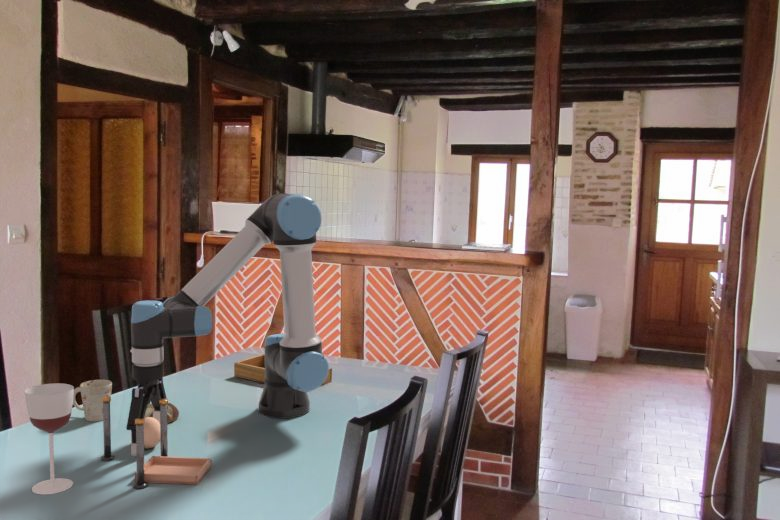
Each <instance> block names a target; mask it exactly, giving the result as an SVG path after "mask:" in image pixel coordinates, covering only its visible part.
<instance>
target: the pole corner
mask: <svg viewBox="0 0 780 520" xmlns="http://www.w3.org/2000/svg"><path fill="white" fill-rule="evenodd" d="M167 403H169V399H168V398H167V399H160V400H159V404H160V439H161V440H160V456H166V457H169V456H168V455H169V454H168V453H169V452H168V451H169V450H168V447H169V445H168V442H169V441H168V424H167Z"/></svg>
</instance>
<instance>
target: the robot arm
mask: <svg viewBox="0 0 780 520" xmlns="http://www.w3.org/2000/svg"><path fill="white" fill-rule="evenodd" d="M244 224H245V225H244V226H243V228H241V229H240V231H239V232H237V234H236V235H235V236H234V237H233V238H232V239H231V240H229V242H228V243H226V245H224V247H223V248H222V249H220V251H219V252H218V253H217V254H216V255H214V256H213V258H212V259H210V260H209V261H208V263H207V264H205V265H204V266H203V268H201V270H199V272H198V273H196V274H195V276H194V277H192V278H191V279H190V280H189V281H188V282H187V283H186V284H185V285H184V287H182V288H181V289H180V290H179V291H178V292H177V293H176V294H175V295H174V296H170V297H169V298H166V299H165V300H164V301H163V302H162V301H160V300H150V299H149V300H146V299H145V300H140V301H139V300H138V301H136V302H134V303H133V304H132V306H131V318H130V325H131V326H130V327H131V328H130V331H131V332H130V334H131V349H130V351H129V352H130V353H131V363H132V365H131V378H132V380H134V381H136V382H137V383H138V384H137V387H136V388H135V387H134V388H132V389H131V401H130V404H129V405H130V406H129V410H128V411H129V412H128V418H127V424H126V430H127V431H130V446H131V447H130V448H131V450H130V451H131V456H136V424H135V419H137V418H144V416H145V413H146V409H147V405H148V404H152V405H153V407H154V409H155V410H156V411H155V410H154V411H153V418H155V419H156V420H157V421H158V422H159V423H160V404H159V400H160V399H168V398H167V394H166V389H165V387H164V378H163V377H164V363H163V362H164V360H165V359H164V340H165V339H171V338H172V339H173V338H175V339H176V338H187V337H188V338H189V337H200V336H208V335H209V334H210V333H211V332H212V329H213V315H212V314H213V313H212V311H211V309H210V307H208V306H206V304H207V303H208V302H209V301H211V299H212V298H214V297H215V295H217V294H218V293H219V292H220V290H221V289H222V288H224V286H226V284H227V283H228V282H229V281H230V280H231V279H232V278H233V277H235V275H236V274H237V273H238V272H239V271H240V270H242V268H243V267H244V266H245V265H246V264H247V263H248V262H249V261H251V259H253V257H254V256H255V255H256V254H257V253H258V252H259V251H261V249H262V248H263V247H264V246H266V245H271V244H272V243H273V246H274V247H275V248H276V249H277V250H278V251H279V260H280V277H281V279H280V280H281V293H282V295H281V296H282V310H283V314H282V315H283V328H284V333H277V334H276V333H275V334H270V335H268V336H266V337H265V340H264V346H263V348H264V354H265V383H264V386H263V389H262V391H261V395H260V398H259V401H258V413H259V414H260V415H262V416H265V417H269V418H277V419H280V418H281V419H285V418H286V419H288V418H296V417H301V416H303V415H305V414H308V412H309V411H310V410H311V404H310V403H311V401H310V399H309V395H308V393H307V392H312V391H315V390H317V389H318V388H320V387H322V386H321V384H322V383H323V382H324V381H325V380H326V378H327V376H328V372H329V368H330V366H329V362H328V360H327V358H326V356H325V355H323V345H322V338H321V337H320V336H318V334H317V332H316V317H315V316H316V314H315V296H314V295H315V294H314V278H313V276H314V275H313V259H312V250H313V247H315V245H317V233H318V231H319V229H320V227H321V225H322V214H321V209H320V208H319V206H318V204H317V203H316V202H315V201H314V200H313V199H312V198H310V197H308V196H306V195H303V194H300V193H284V192H283V193H282V192H280V193H276V194H274V195H271V196H270V197H268V198H267V199H266V200H264V201H263V202H262V204H260V205H259V206H258V207H257V208H256V209H255V210H254V211H253V213H251V214H250V215H249V216H248V218H246V220H245V221H244ZM167 409H168V406H167Z"/></svg>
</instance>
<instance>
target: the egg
mask: <svg viewBox="0 0 780 520" xmlns="http://www.w3.org/2000/svg"><path fill="white" fill-rule="evenodd" d="M144 419H145V423H144V449H152V448H154V447H156V446H157V445H159V443H161V439H160V423H159V422H158V421H157V420H156V419H155V418H152V417H146V418H144Z"/></svg>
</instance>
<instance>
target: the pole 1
mask: <svg viewBox="0 0 780 520" xmlns="http://www.w3.org/2000/svg"><path fill="white" fill-rule="evenodd" d="M111 398H112V397H110V396H105V397H102V402H103V420H102V421H103V422H102V423H103V430H102V431H103V455H102V456H101V457H100V460H101V462H110V461H114V459H115V455H114V454H112V438H111V437H112V436H111V435H112V433H111V431H112V430H111V401H112V399H111Z"/></svg>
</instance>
